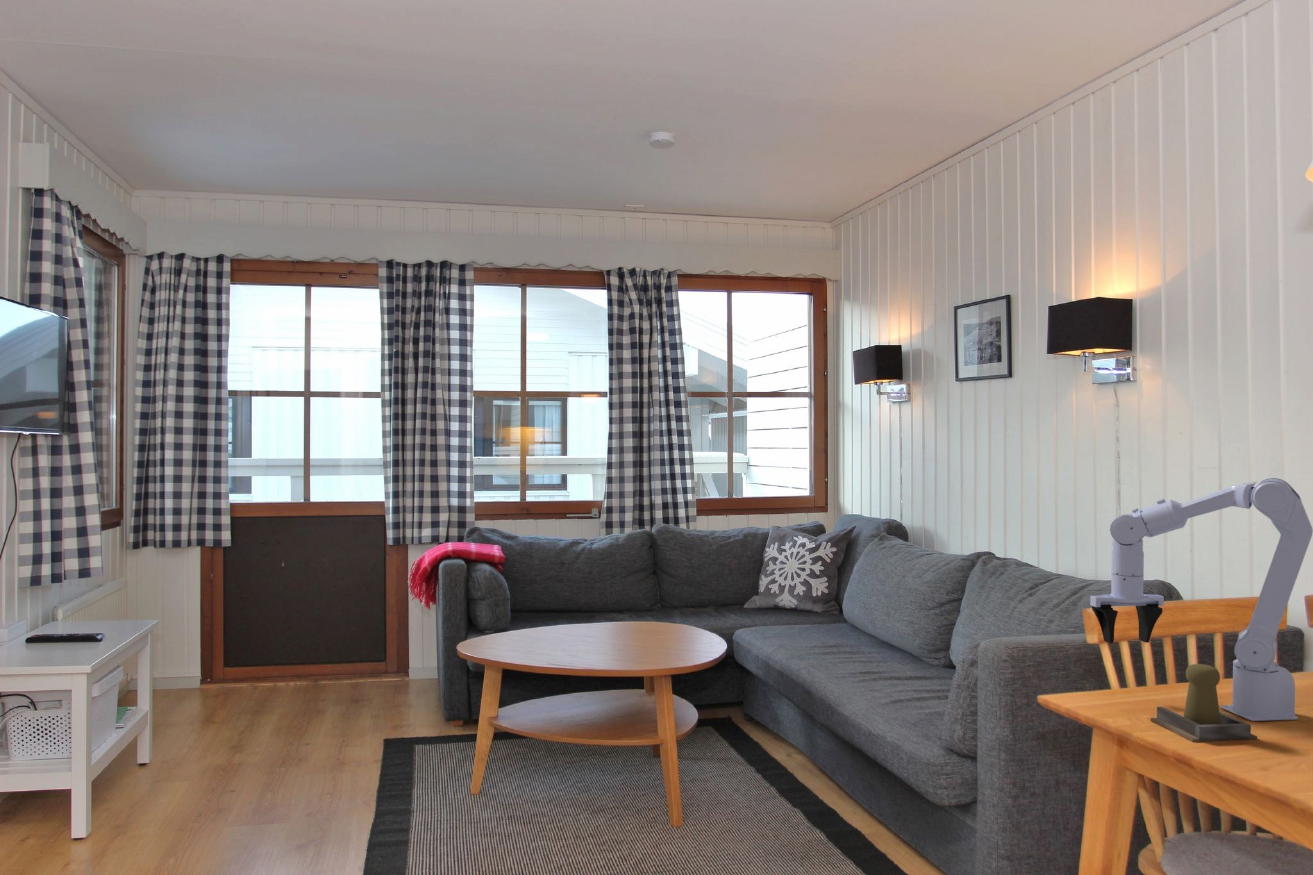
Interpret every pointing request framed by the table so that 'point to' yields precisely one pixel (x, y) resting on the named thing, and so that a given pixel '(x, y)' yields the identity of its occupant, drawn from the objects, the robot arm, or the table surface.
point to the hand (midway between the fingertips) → (1126, 641)
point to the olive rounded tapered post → (1202, 694)
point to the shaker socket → (1204, 727)
